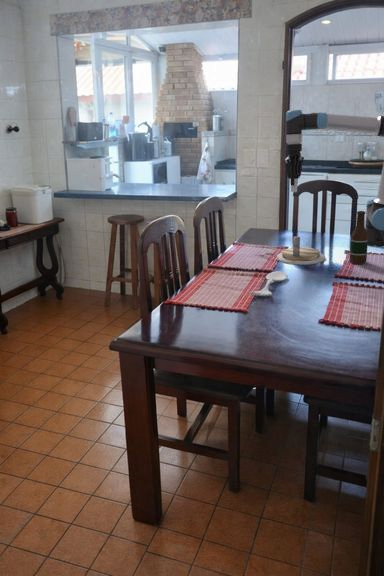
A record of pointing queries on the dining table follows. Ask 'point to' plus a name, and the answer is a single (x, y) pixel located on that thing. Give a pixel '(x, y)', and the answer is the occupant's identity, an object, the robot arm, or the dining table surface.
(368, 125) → the robot arm
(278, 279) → the spoon
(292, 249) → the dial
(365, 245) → the beer bottle
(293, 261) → the white plate
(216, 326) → the dining table surface
